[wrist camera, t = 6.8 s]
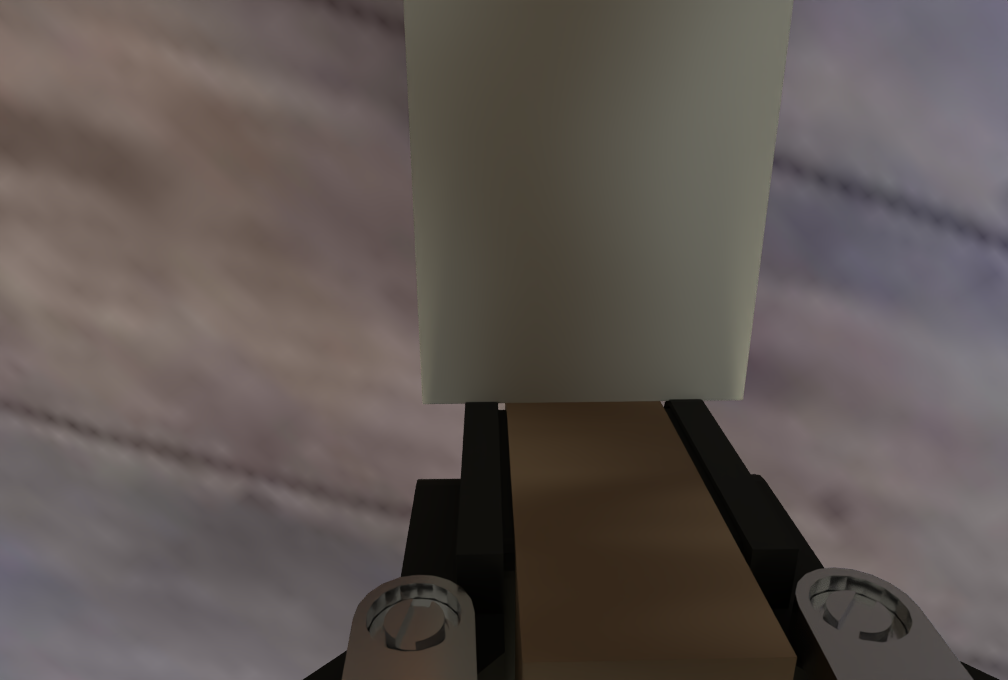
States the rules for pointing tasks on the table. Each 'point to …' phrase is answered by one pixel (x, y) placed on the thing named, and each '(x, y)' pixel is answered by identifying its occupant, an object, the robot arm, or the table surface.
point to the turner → (601, 303)
